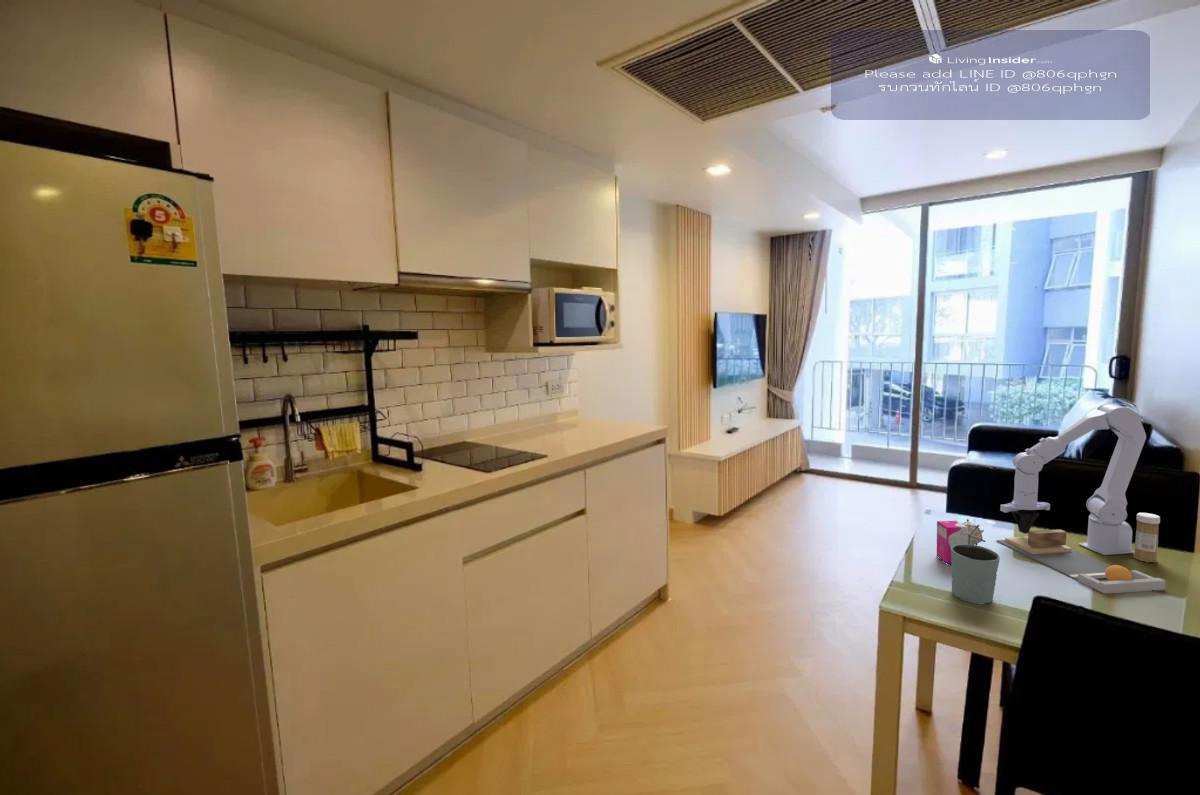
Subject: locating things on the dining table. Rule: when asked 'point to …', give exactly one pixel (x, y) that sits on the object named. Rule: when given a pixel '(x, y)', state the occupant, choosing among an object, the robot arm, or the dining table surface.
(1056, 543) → the pusher bar
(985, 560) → the grey-green plant pot
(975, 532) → the game die
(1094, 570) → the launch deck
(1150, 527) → the sprinkles bottle
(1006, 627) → the dining table surface
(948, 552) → the supplement box
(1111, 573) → the ball
